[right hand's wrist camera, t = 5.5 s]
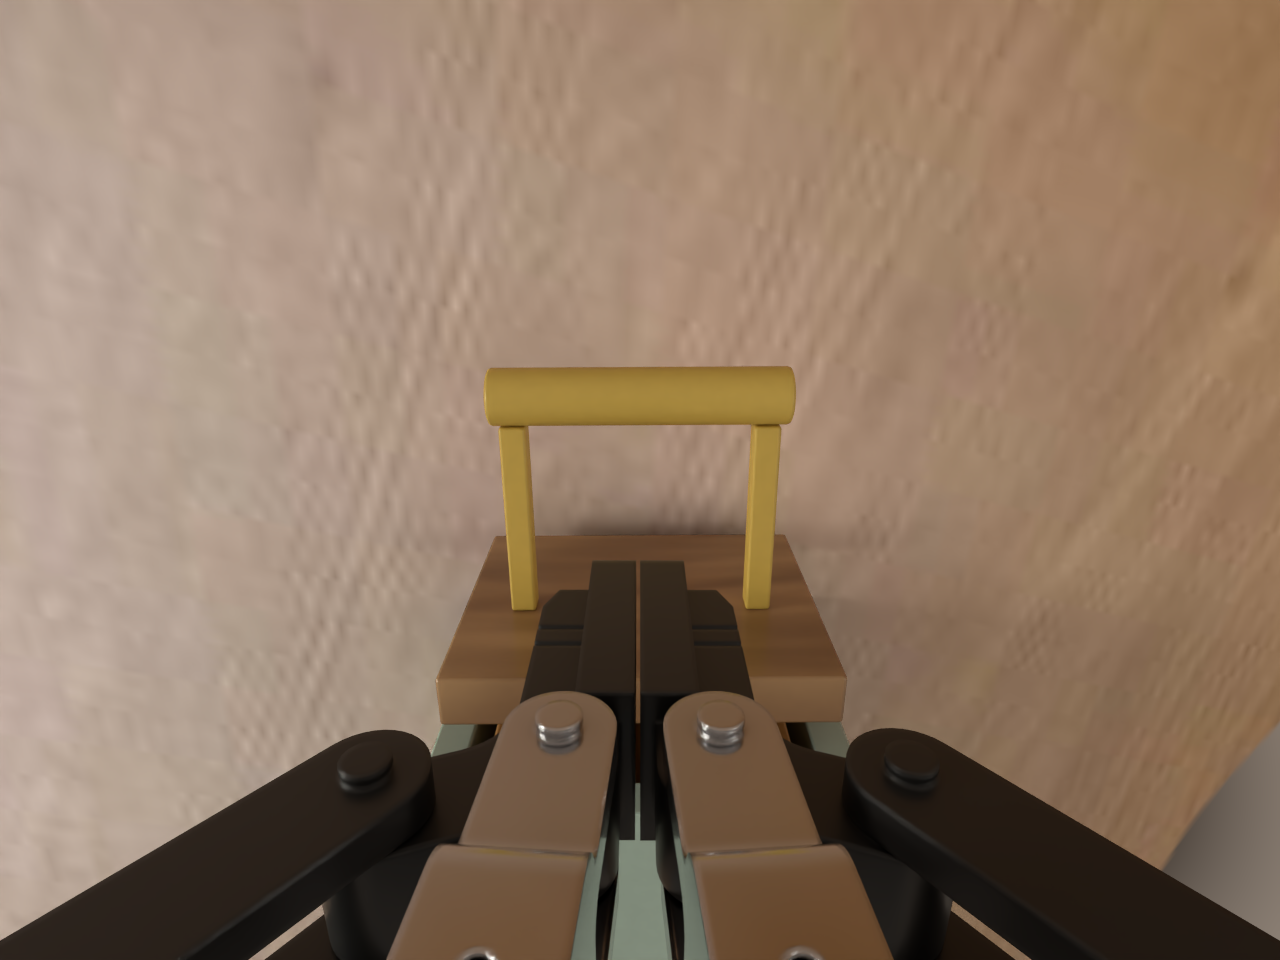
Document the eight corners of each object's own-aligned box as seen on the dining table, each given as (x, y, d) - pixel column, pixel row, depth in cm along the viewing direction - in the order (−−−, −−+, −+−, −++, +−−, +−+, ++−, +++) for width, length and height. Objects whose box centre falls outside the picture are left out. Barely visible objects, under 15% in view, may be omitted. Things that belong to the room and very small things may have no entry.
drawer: (478, 335, 20) (400, 404, 13) (800, 334, 20) (880, 402, 13) (531, 986, 29) (501, 1218, 23) (752, 984, 29) (786, 1216, 23)
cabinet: (487, 597, 24) (406, 814, 16) (793, 595, 24) (877, 811, 16) (525, 1027, 32) (485, 1330, 23) (759, 1026, 32) (803, 1328, 23)
